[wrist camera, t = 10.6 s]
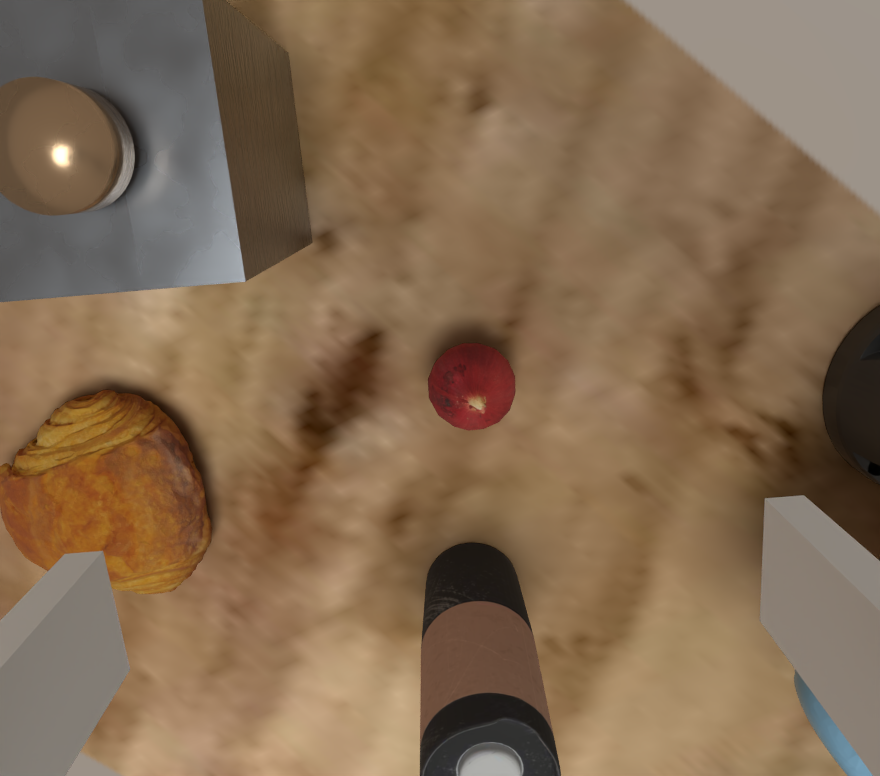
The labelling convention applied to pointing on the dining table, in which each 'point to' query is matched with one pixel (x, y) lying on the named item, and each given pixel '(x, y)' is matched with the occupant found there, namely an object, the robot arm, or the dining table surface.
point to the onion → (471, 386)
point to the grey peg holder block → (162, 148)
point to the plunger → (61, 147)
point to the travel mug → (481, 672)
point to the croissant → (109, 493)
